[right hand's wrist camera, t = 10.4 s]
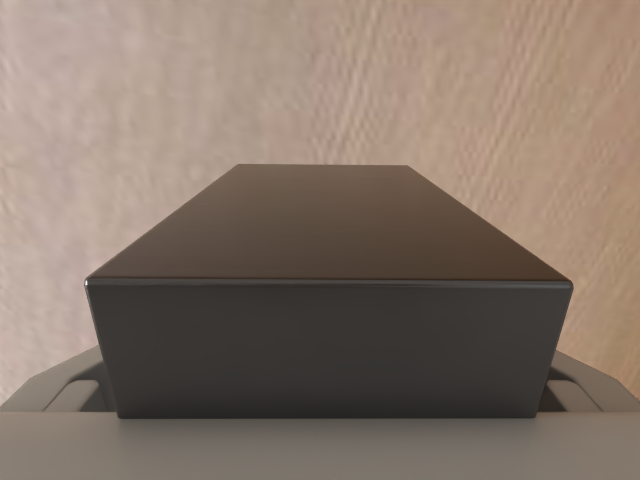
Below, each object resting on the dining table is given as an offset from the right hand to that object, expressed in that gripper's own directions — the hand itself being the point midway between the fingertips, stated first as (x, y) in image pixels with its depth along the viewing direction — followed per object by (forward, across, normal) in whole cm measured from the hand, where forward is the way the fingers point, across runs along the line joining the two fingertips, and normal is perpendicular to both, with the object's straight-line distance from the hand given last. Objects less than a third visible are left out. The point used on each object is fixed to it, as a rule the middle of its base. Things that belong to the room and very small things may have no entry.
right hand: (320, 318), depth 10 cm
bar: (+3, 0, +10) cm, 10 cm away
